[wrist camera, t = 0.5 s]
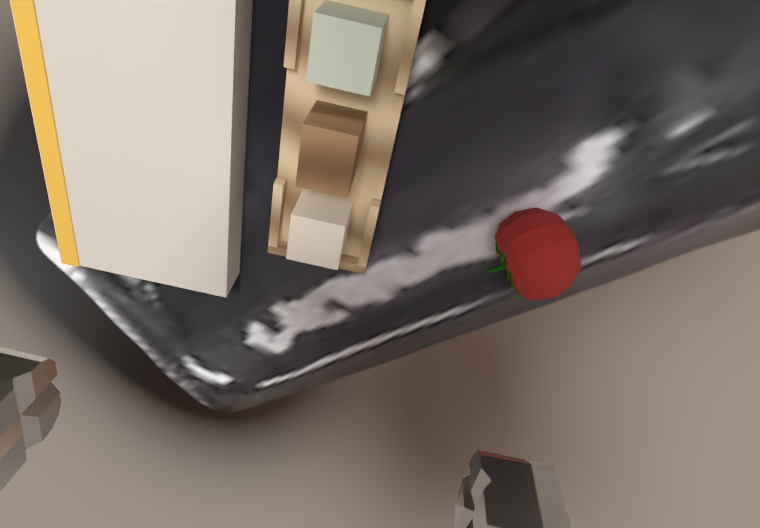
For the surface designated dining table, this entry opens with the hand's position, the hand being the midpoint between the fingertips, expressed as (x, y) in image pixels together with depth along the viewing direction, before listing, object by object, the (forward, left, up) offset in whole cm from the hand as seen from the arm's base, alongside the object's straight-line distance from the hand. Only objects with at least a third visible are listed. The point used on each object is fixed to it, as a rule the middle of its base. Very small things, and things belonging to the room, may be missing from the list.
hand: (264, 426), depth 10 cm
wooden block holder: (+9, -3, -37) cm, 38 cm away
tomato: (+15, +15, -36) cm, 42 cm away
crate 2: (+16, -3, -34) cm, 38 cm away
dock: (+12, -19, -36) cm, 43 cm away
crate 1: (+1, -3, -34) cm, 34 cm away
